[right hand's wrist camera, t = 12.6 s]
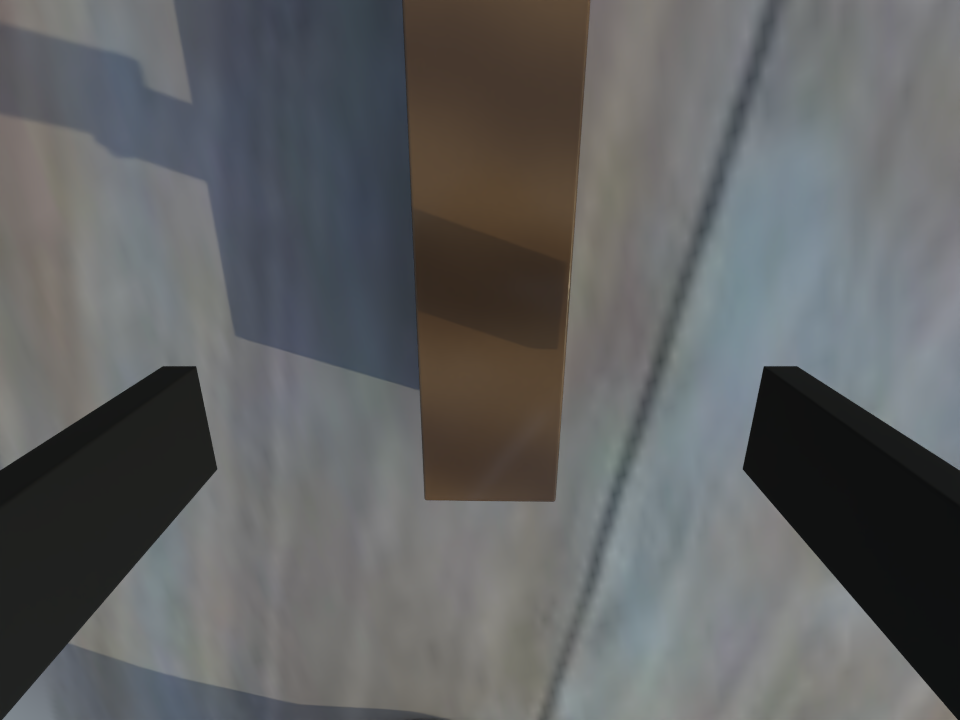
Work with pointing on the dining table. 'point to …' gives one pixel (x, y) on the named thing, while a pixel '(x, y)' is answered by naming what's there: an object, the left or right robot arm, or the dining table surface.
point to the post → (493, 235)
